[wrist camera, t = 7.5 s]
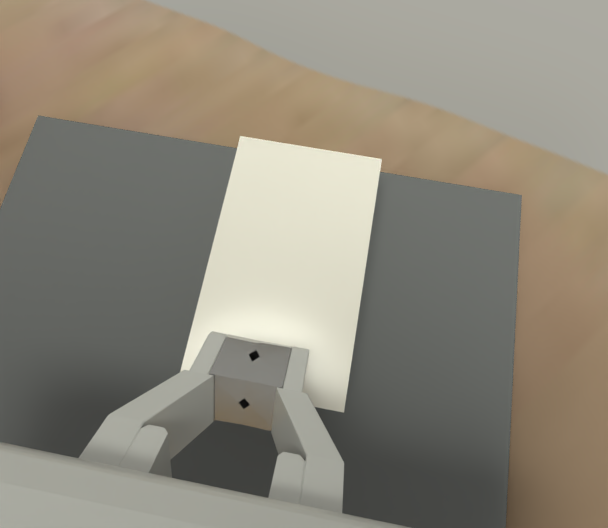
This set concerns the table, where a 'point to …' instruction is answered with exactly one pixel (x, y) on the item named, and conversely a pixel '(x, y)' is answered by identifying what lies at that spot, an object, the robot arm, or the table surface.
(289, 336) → the tile
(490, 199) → the mat
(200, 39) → the table surface
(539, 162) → the table surface
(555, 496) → the table surface
